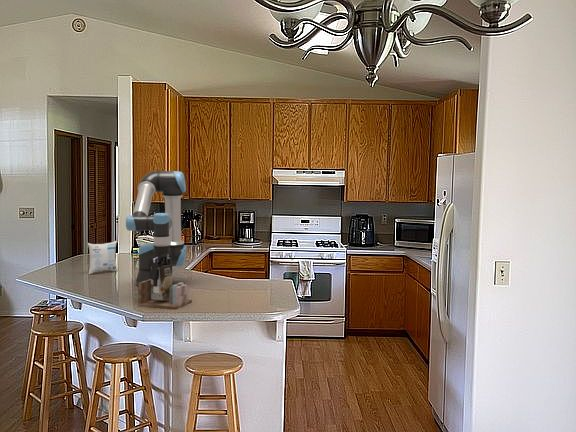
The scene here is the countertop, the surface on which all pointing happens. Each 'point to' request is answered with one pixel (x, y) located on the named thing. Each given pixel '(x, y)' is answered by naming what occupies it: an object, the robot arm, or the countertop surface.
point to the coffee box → (163, 283)
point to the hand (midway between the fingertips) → (161, 290)
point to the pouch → (102, 257)
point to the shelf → (174, 302)
